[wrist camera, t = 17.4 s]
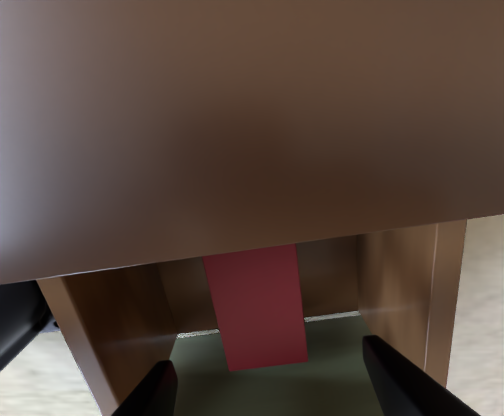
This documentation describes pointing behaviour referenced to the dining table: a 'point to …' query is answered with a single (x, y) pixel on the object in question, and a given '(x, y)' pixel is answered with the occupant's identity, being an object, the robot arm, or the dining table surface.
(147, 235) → the cabinet
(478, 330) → the dining table surface
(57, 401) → the dining table surface
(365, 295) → the drawer
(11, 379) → the dining table surface
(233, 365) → the red block
